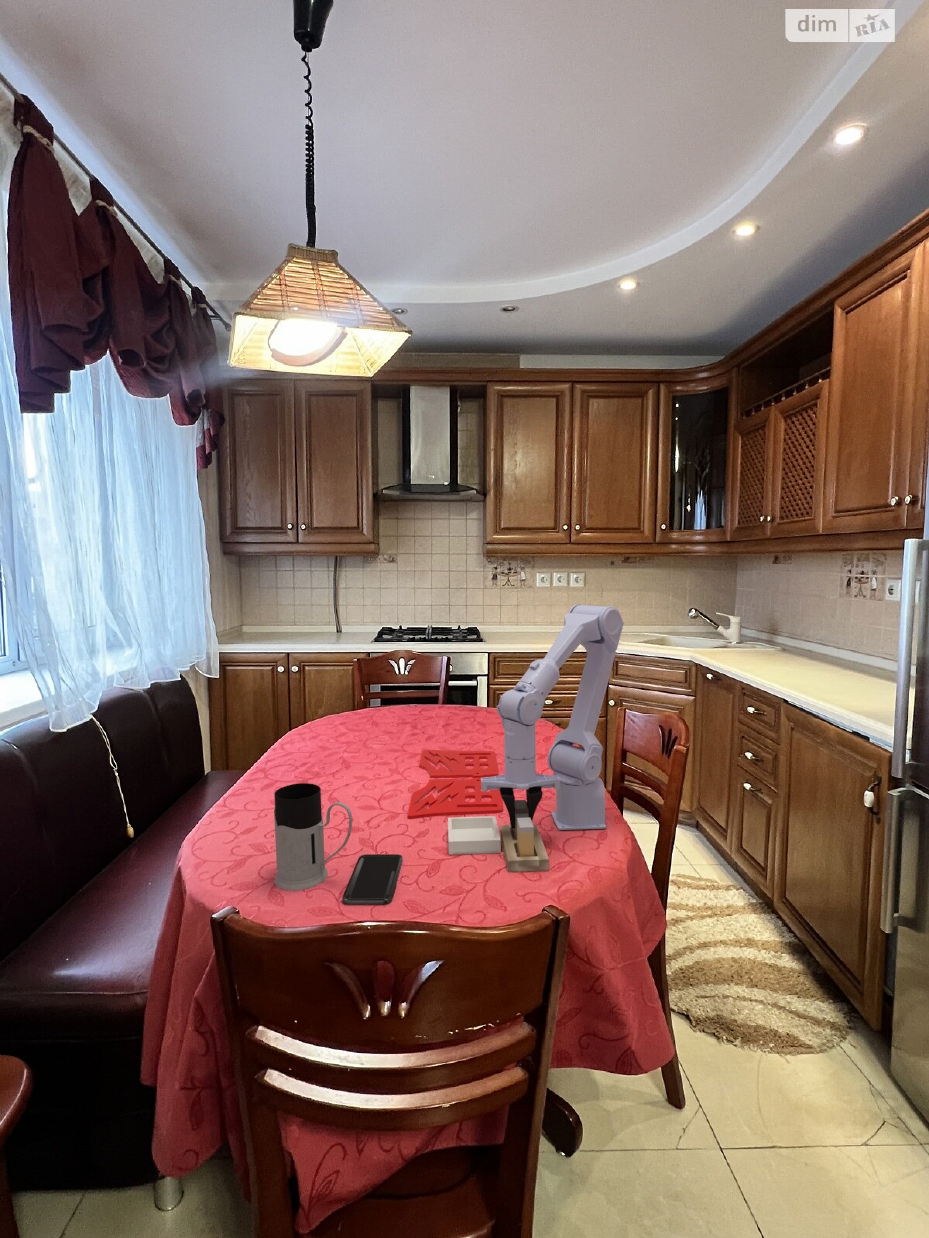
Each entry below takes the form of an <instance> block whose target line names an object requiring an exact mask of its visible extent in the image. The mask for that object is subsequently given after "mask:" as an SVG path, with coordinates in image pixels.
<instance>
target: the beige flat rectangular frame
mask: <svg viewBox="0 0 929 1238" xmlns="http://www.w3.org/2000/svg"><path fill="white" fill-rule="evenodd" d="M532 824H533V827H534V856H531V857H518V856H517V840H514V837H513V829H512V828H511V825H510V824H501V825H499V835H500V840H501V845H502V850H503V855H504V859H505V860H504V861H505V865H506V868H507V872H508V873H518V872H541V871H542V872H543V871H547V872H548V871H549V870H550V858H549V856H548V853H547V850H546V848H545V845H544V842H543V838H542V836H541V834H540V832H539V829H538V826H537V825H538V824H536V823H532Z"/></svg>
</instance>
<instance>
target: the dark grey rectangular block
mask: <svg viewBox="0 0 929 1238" xmlns="http://www.w3.org/2000/svg"><path fill="white" fill-rule="evenodd" d="M514 814H515V829H513V837H514V838H513V840H517V818H529V808H528V805H527V800H526V799H515V807H514Z"/></svg>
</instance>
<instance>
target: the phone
mask: <svg viewBox="0 0 929 1238" xmlns="http://www.w3.org/2000/svg"><path fill="white" fill-rule="evenodd" d="M402 864H403V855H401V854H399V853H398V854H392V853H391V854H388V853H387V854H386V853H385V854H381V853H380V854H373V853H372V854H371V853H370V854H368V853H367V854H361V855H360V856H359V857H358V859H357V862H356V864H355V865H354V868H353V871H352V873H351V876H350V877H349V879H348V880H349V881H348V882H347V884H346V887H345V890H344V892H343V894H342V900H341V901H342V904H343V905H346V906H387V905H390V904H391V903H392V901H393V898H394V894H395V893H396V889H397V885H398V884H397V883H398V879H399V876H400V872H401V868H402Z"/></svg>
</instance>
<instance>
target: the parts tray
mask: <svg viewBox="0 0 929 1238" xmlns="http://www.w3.org/2000/svg"><path fill="white" fill-rule="evenodd" d="M497 822H498V821H497V817H496V815H494V816H493V815H489V816H488V815H487V816H459V817H457V816H456V817H447V835H448V836H447V838H448V839H447V840H448V843H447V844H448V856H451V855H452V856H455V855H458V856H459V855H461V856H462V855H486V854H487V855H489V854H491V855H492V854H501V853H502V852H501V850H502V848H501V845H502V842H501V837H500V829H499V826H498V823H497Z"/></svg>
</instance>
